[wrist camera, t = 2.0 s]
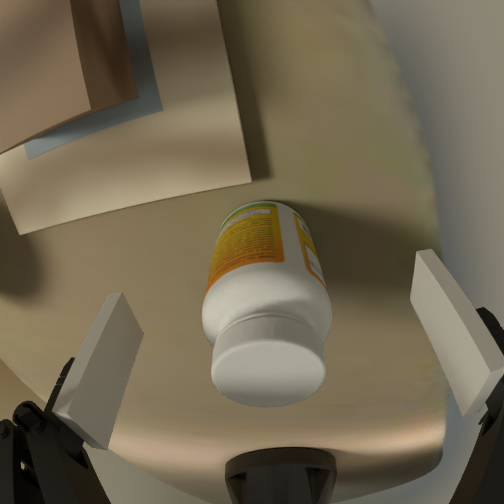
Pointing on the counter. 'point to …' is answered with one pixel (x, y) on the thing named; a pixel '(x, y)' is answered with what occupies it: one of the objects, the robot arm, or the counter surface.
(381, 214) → the counter surface
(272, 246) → the supplement bottle
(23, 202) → the tan flat sheet
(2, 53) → the walnut block
